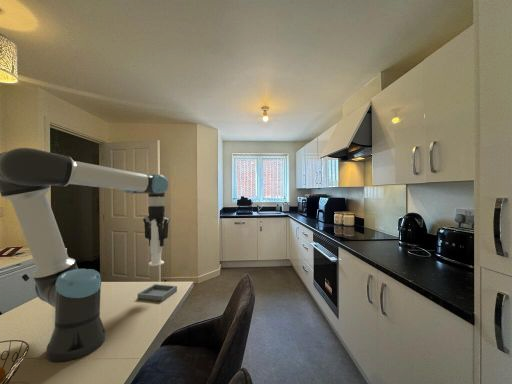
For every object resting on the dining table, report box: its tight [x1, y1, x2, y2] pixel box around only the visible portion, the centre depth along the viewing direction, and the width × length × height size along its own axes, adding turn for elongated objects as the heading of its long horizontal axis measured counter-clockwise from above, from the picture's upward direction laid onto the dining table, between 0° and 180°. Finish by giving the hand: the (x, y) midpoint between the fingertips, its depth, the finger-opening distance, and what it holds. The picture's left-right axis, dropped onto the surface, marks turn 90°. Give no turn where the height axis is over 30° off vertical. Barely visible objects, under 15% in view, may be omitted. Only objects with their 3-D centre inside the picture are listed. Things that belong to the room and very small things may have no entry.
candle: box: [148, 219, 165, 267], centre depth 115 cm, size 7×7×25 cm
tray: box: [137, 283, 178, 302], centre depth 115 cm, size 13×13×2 cm
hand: (156, 252), depth 114 cm, fingers closed on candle, 3 cm apart
